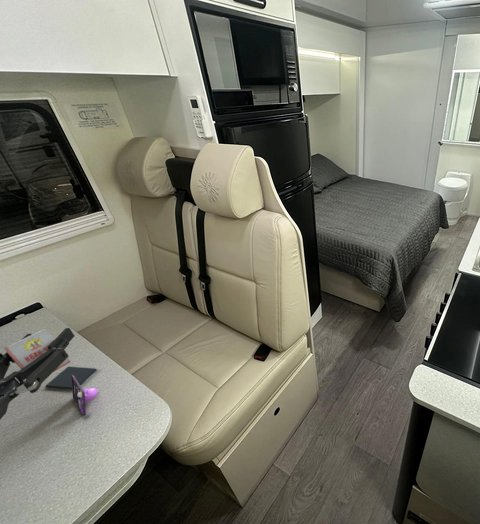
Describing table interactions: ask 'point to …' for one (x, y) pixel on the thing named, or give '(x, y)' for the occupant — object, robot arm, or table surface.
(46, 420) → the table surface
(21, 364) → the white red carton
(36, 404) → the table surface
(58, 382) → the mat
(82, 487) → the table surface
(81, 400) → the purple knobbed frame
